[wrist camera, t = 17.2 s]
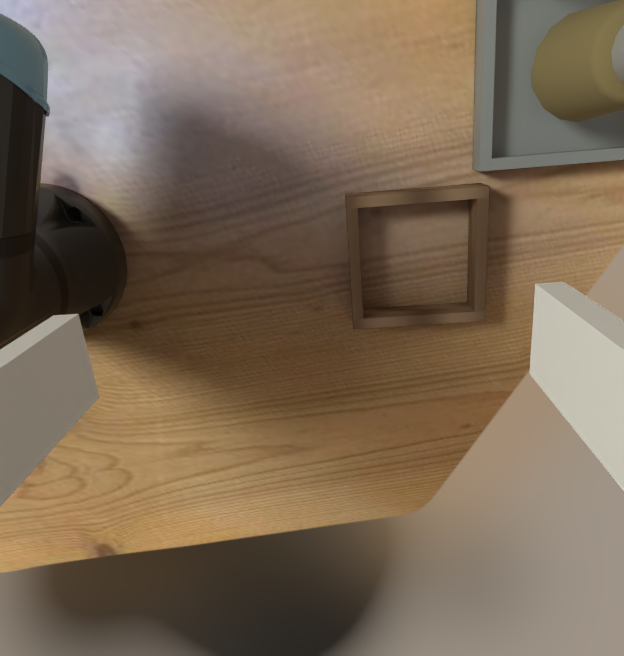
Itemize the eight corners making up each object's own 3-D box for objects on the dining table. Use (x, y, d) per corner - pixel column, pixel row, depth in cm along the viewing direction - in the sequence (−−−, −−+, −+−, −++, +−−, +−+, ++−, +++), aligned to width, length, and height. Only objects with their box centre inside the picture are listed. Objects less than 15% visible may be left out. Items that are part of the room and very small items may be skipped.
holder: (352, 318, 54) (353, 329, 51) (345, 193, 49) (345, 197, 47) (477, 311, 53) (485, 321, 50) (480, 183, 48) (489, 186, 46)
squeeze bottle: (559, 143, 46) (685, 148, 30) (496, 77, 45) (592, 43, 28) (635, 66, 44) (819, 24, 27) (572, -7, 43) (726, -99, 26)
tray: (472, 169, 48) (479, 171, 46) (476, -21, 43) (484, -30, 41) (642, 155, 47) (658, 156, 45) (667, -41, 42) (687, -52, 40)
